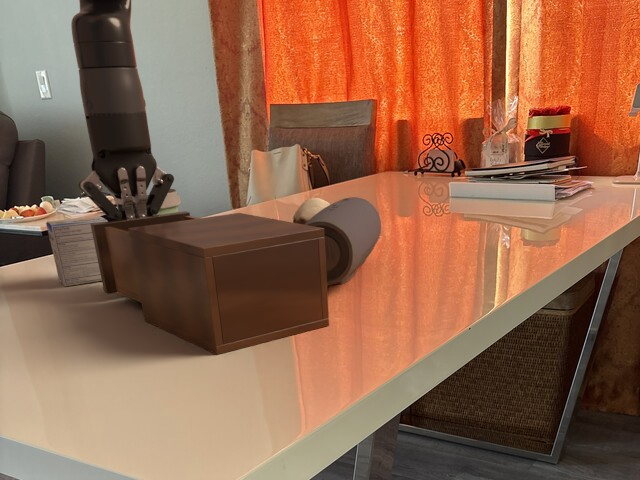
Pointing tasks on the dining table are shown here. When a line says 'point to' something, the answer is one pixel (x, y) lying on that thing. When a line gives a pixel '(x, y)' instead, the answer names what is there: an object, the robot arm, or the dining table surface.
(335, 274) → the bluetooth speaker
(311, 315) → the cabinet
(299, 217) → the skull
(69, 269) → the medicine box
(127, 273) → the drawer
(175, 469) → the dining table surface
